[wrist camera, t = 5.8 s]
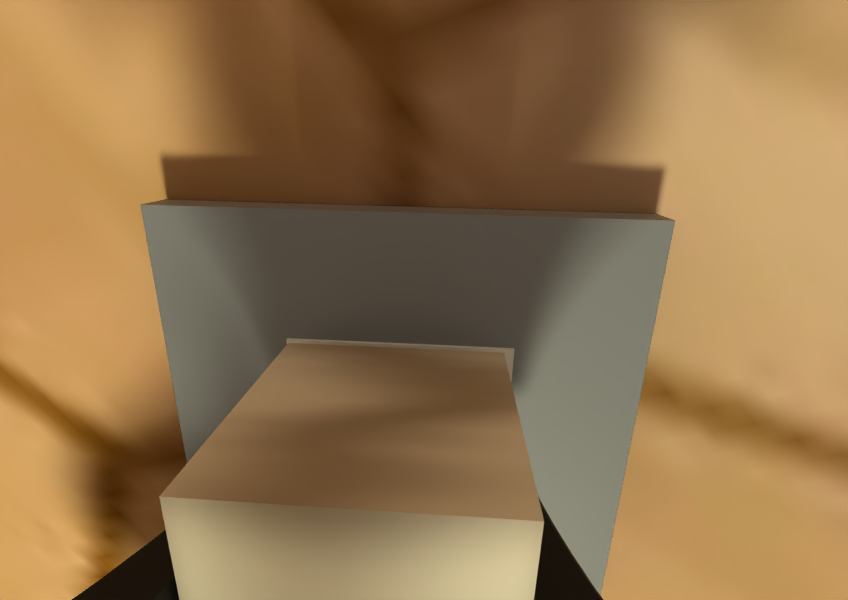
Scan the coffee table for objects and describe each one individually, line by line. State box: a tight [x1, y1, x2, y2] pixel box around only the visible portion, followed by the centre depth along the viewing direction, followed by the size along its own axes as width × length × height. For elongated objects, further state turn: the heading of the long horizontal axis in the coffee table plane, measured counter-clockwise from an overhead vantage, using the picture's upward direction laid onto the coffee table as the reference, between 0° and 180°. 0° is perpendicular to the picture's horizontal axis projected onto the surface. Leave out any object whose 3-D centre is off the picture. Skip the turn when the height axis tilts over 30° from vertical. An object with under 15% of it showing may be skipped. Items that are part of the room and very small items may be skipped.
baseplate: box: [141, 199, 675, 595], centre depth 13 cm, size 12×12×1 cm
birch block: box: [159, 343, 544, 600], centre depth 9 cm, size 5×5×5 cm
